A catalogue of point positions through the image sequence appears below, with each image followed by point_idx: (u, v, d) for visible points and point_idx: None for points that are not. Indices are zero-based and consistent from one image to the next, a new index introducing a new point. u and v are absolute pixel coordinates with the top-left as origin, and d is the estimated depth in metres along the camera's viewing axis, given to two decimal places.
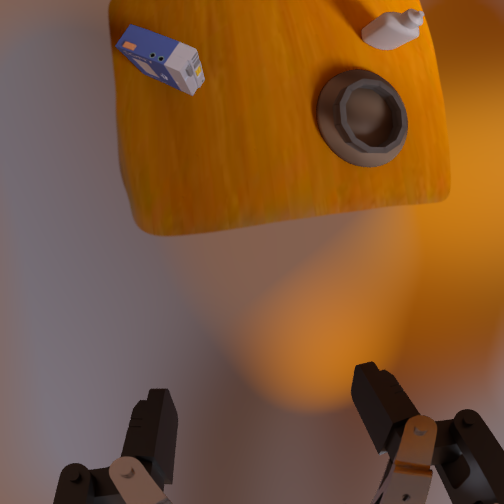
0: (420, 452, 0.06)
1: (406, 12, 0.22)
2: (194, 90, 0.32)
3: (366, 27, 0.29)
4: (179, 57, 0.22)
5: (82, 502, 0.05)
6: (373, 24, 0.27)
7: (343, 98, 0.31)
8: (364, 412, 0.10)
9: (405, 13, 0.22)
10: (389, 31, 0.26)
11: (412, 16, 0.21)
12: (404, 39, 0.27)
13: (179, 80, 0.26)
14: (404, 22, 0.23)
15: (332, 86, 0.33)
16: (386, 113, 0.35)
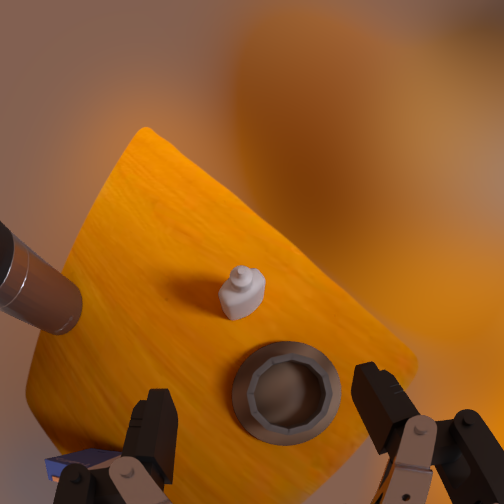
0: (420, 452, 0.06)
1: (230, 280, 0.31)
2: None
3: (222, 308, 0.38)
4: None
5: (82, 502, 0.05)
6: (223, 306, 0.36)
7: (251, 407, 0.31)
8: (364, 412, 0.10)
9: (231, 281, 0.31)
10: (237, 306, 0.33)
11: (237, 280, 0.30)
12: (257, 295, 0.35)
13: None
14: (239, 290, 0.32)
15: (237, 395, 0.34)
16: (302, 372, 0.35)
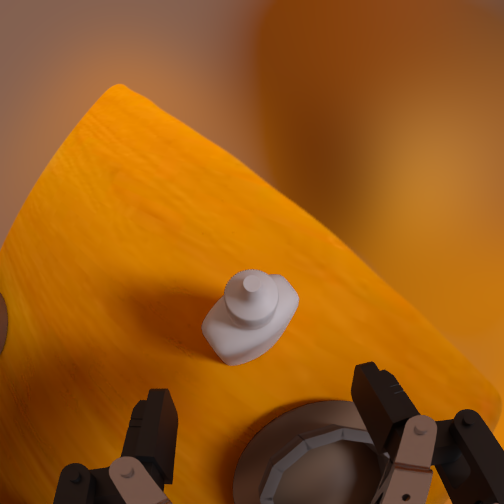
0: (420, 452, 0.06)
1: (226, 304, 0.13)
2: None
3: None
4: None
5: (82, 502, 0.05)
6: None
7: None
8: (364, 412, 0.10)
9: (227, 308, 0.13)
10: (242, 354, 0.16)
11: (243, 305, 0.12)
12: (282, 329, 0.17)
13: None
14: (245, 325, 0.14)
15: (243, 491, 0.16)
16: (353, 449, 0.17)
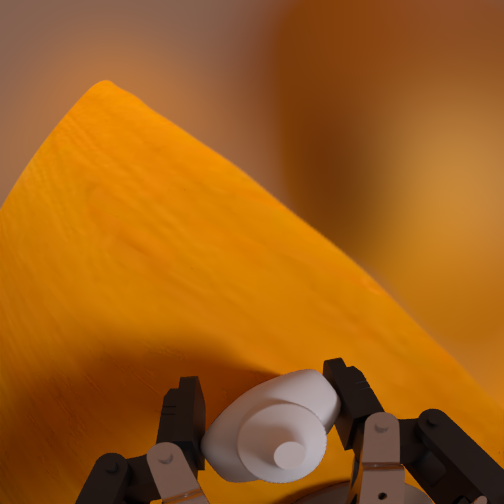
0: (386, 449, 0.07)
1: None
2: None
3: None
4: None
5: (113, 493, 0.06)
6: None
7: None
8: None
9: None
10: None
11: (270, 467, 0.06)
12: None
13: None
14: None
15: None
16: None
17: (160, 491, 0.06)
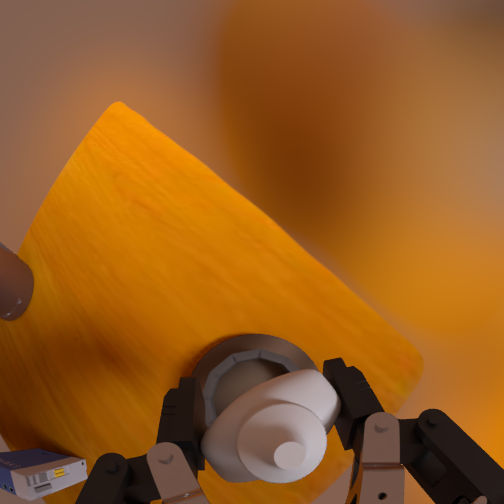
0: (386, 449, 0.07)
1: None
2: (82, 475, 0.21)
3: None
4: (20, 487, 0.12)
5: (113, 493, 0.06)
6: None
7: (206, 416, 0.24)
8: None
9: None
10: None
11: (269, 467, 0.06)
12: None
13: None
14: None
15: None
16: (275, 374, 0.28)
17: (160, 491, 0.06)
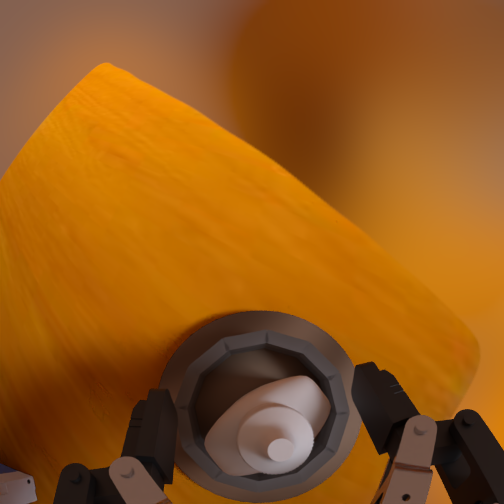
0: (420, 452, 0.06)
1: None
2: (30, 496, 0.12)
3: None
4: None
5: (82, 502, 0.05)
6: None
7: (182, 434, 0.14)
8: (364, 412, 0.10)
9: None
10: None
11: (264, 460, 0.07)
12: None
13: None
14: None
15: None
16: (289, 370, 0.18)
17: None
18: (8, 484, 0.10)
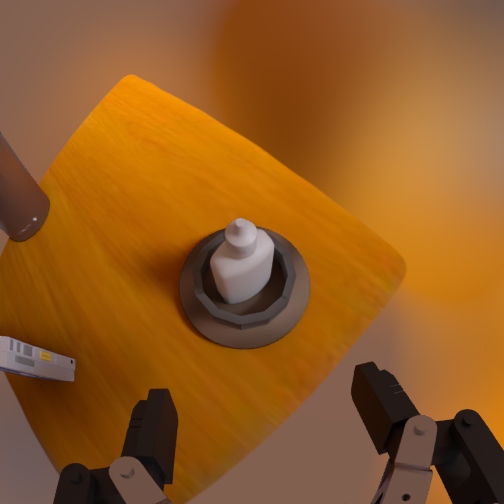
0: (420, 452, 0.06)
1: (226, 239, 0.22)
2: (69, 375, 0.26)
3: (217, 287, 0.29)
4: (1, 352, 0.17)
5: (82, 502, 0.05)
6: (217, 283, 0.27)
7: (196, 286, 0.28)
8: (364, 412, 0.10)
9: (226, 241, 0.22)
10: (236, 280, 0.25)
11: (235, 237, 0.21)
12: (263, 266, 0.26)
13: None
14: (237, 254, 0.23)
15: (186, 282, 0.31)
16: None
17: None
18: (57, 356, 0.24)
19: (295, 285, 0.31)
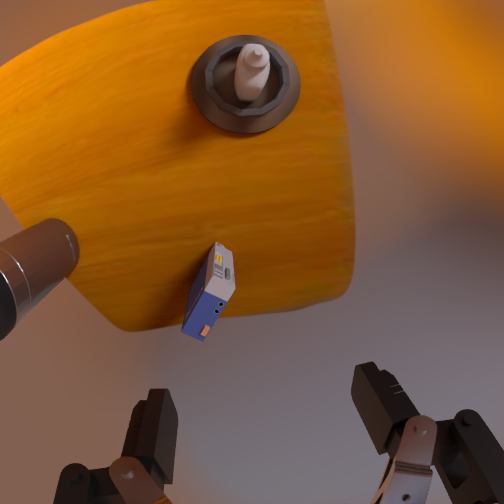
0: (420, 452, 0.06)
1: (252, 67, 0.24)
2: (228, 251, 0.40)
3: (243, 98, 0.32)
4: (220, 289, 0.30)
5: (82, 502, 0.05)
6: (248, 95, 0.30)
7: (233, 111, 0.32)
8: (364, 412, 0.10)
9: (253, 68, 0.24)
10: (265, 82, 0.27)
11: (259, 61, 0.23)
12: None
13: None
14: (262, 69, 0.25)
15: (216, 118, 0.34)
16: None
17: None
18: (216, 250, 0.37)
19: None
